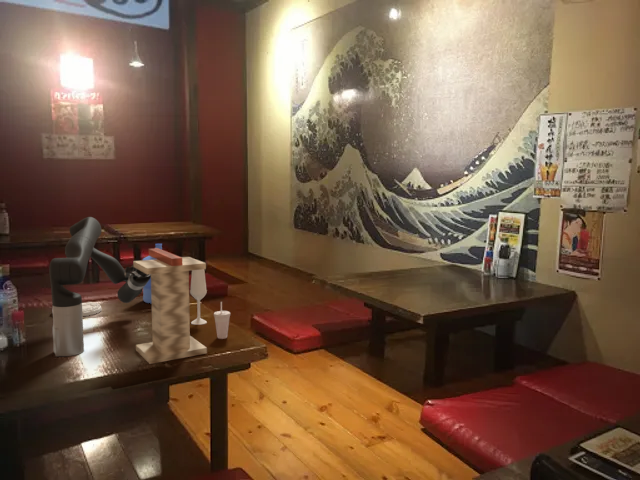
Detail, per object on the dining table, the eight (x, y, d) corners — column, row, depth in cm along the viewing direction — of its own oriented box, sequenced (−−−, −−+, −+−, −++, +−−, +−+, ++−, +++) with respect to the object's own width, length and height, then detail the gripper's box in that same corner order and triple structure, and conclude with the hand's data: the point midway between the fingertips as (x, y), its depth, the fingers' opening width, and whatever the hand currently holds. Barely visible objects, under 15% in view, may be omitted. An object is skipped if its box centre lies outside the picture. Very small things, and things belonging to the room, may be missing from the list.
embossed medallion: (103, 306, 249) (103, 300, 249) (99, 317, 230) (99, 310, 230) (56, 309, 243) (56, 302, 243) (48, 320, 224) (48, 313, 224)
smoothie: (210, 338, 202) (210, 302, 200) (219, 334, 208) (219, 299, 206) (225, 340, 200) (225, 304, 198) (233, 335, 206) (233, 300, 204)
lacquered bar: (172, 266, 175) (172, 258, 175) (148, 255, 197) (148, 248, 196) (182, 265, 177) (182, 257, 177) (158, 254, 199) (158, 248, 198)
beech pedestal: (149, 364, 175) (146, 268, 171) (136, 350, 188) (133, 261, 184) (206, 353, 186) (205, 263, 182) (190, 341, 199) (189, 256, 195)
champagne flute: (210, 321, 225) (209, 265, 222) (200, 325, 219) (199, 268, 216) (197, 319, 228) (196, 264, 225) (187, 323, 222) (186, 266, 219)
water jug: (146, 297, 267) (145, 241, 264) (178, 296, 269) (177, 242, 265) (139, 304, 252) (138, 246, 248) (173, 304, 254) (172, 246, 250)
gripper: (119, 271, 213) (127, 256, 201) (154, 268, 221) (165, 253, 209) (122, 289, 211) (131, 274, 198) (157, 285, 219) (168, 271, 206)
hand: (148, 263), depth 204 cm, fingers open, 8 cm apart
